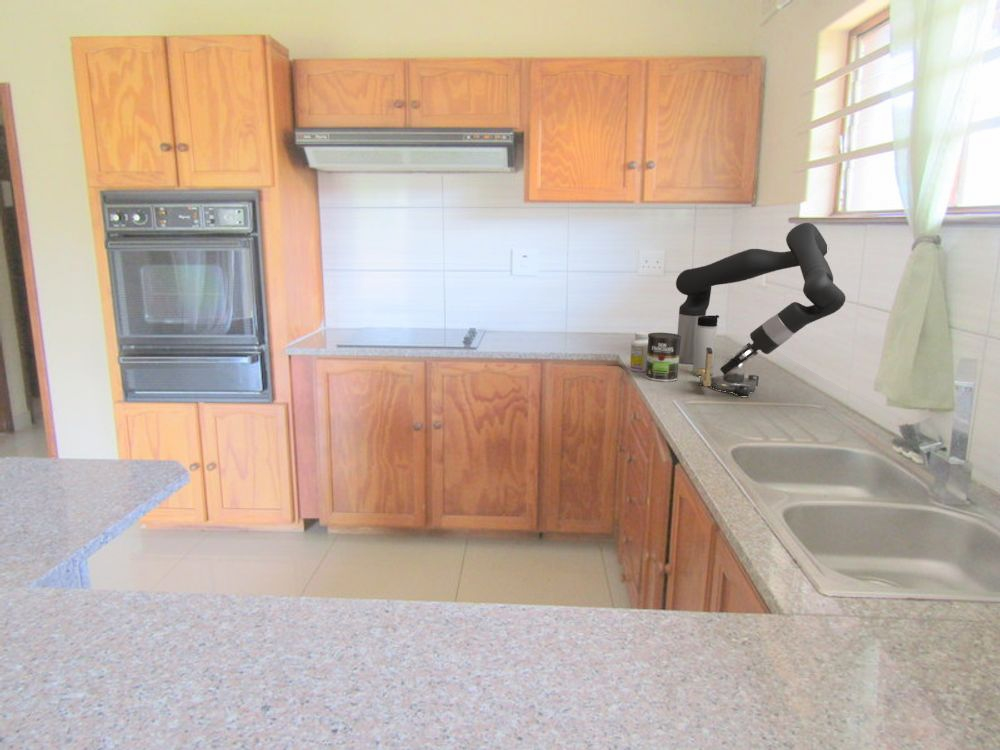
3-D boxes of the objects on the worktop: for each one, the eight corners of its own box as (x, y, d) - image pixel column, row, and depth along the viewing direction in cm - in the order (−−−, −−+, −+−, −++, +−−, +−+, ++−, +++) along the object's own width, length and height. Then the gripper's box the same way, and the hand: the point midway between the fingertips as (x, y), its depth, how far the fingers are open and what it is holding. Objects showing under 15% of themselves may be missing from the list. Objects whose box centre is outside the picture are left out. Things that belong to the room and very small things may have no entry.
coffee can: (676, 383, 207) (679, 338, 204) (643, 380, 211) (646, 336, 208) (679, 376, 217) (682, 333, 214) (647, 373, 220) (650, 331, 217)
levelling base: (706, 378, 214) (709, 348, 212) (760, 385, 206) (763, 354, 204) (691, 390, 199) (694, 358, 197) (748, 398, 191) (752, 365, 188)
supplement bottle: (645, 368, 228) (647, 331, 225) (653, 372, 222) (655, 334, 219) (627, 368, 227) (629, 331, 224) (634, 372, 220) (636, 334, 217)
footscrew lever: (695, 373, 208) (698, 340, 206) (710, 374, 207) (713, 341, 205) (699, 385, 192) (702, 350, 190) (715, 386, 191) (718, 351, 189)
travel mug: (714, 378, 215) (720, 316, 210) (693, 376, 216) (698, 316, 212) (712, 373, 221) (718, 314, 216) (692, 372, 222) (697, 313, 218)
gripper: (777, 348, 176) (726, 386, 185) (785, 340, 187) (736, 377, 196) (758, 326, 177) (708, 365, 186) (767, 320, 188) (719, 357, 197)
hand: (722, 371), depth 191 cm, fingers closed
